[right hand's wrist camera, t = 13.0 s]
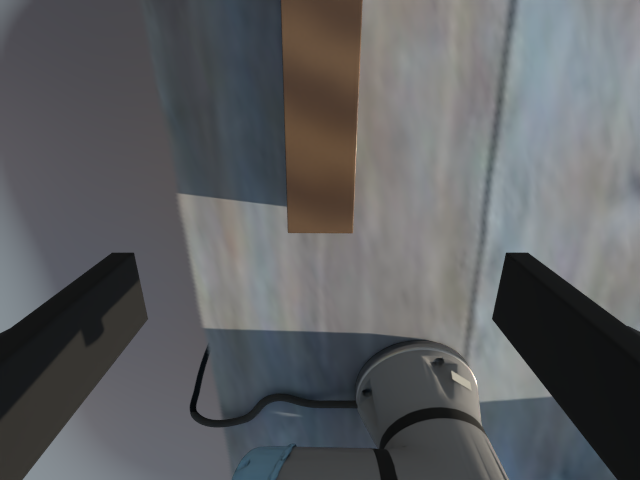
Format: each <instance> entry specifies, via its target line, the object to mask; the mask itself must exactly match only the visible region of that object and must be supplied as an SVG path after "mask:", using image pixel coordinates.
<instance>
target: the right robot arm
mask: <svg viewBox="0 0 640 480" xmlns="http://www.w3.org/2000/svg"><path fill="white" fill-rule="evenodd" d="M147 319H148V317H147V312H146V308H145V303H144V298H143V293H142V289H141V284H140V279H139V275H138V270H137V265H136V261H135V256H134V253H111V254H110V255H108V256H107V257H106V258H105V259H103V260H102V261H100V262H99V263H98V264H96V265H95V266H94V267H92V268H91V269H90V270H88V271H87V272H86V273H84V274H83V275H82V276H80V277H79V278H78V279H76V280H75V281H73V282H72V283H71V284H69V285H68V286H67V287H65V288H64V289H63V290H61V291H60V292H59V293H57V294H56V295H55V296H53V297H52V298H51V299H49V300H48V301H47V302H45V303H44V304H42V305H41V306H40V307H39V308H37V309H36V310H34V311H33V312H32V313H30V314H29V315H28V316H26V317H25V318H24V319H22V320H21V321H20V322H18V323H17V324H16V325H14V326H13V327H12V328H10V329H8V330H6V331H4V332H2V333H0V480H23V478H24V477H25V476H26V474H27V473H28V472H29V471H30V469H31V468H32V467H33V466H34V464H35V463H36V462H37V460H38V459H39V458H40V457H41V455H42V454H43V453H44V451H45V450H46V449H47V448H48V446H49V445H50V444H51V442H52V441H53V440H54V439H55V437H56V436H57V435H58V433H59V432H60V431H61V430H62V428H63V427H64V426H65V425H66V423H67V422H68V421H69V419H70V418H71V417H72V416H73V414H74V413H75V412H76V410H77V409H78V408H79V407H80V405H81V404H82V403H83V401H84V400H85V399H86V398H87V396H88V395H89V394H90V392H91V391H92V390H93V389H94V387H95V386H96V385H97V384H98V382H99V381H100V380H101V378H102V377H103V376H104V375H105V373H106V372H107V371H108V369H109V368H110V367H111V366H112V364H113V363H114V362H115V360H116V359H117V358H118V357H119V355H120V354H121V353H122V351H123V350H124V349H125V348H126V346H127V345H128V344H129V343H130V341H131V340H132V339H133V337H134V336H135V335H136V334H137V332H138V331H139V330H140V328H141V327H142V326H143V325H144V323H145V322H146V321H147ZM492 319H493V321H494V322H495V323H496V325H497V326H498V327H499V328H500V330H501V331H502V332H503V334H504V335H505V336H506V337H507V339H508V340H509V341H510V343H511V344H512V345H513V346H514V348H515V349H516V350H517V352H518V353H519V354H520V355H521V357H522V358H523V359H524V360H525V362H526V363H527V364H528V366H529V367H530V368H531V369H532V371H533V372H534V373H535V375H536V376H537V377H538V378H539V380H540V381H541V382H542V384H543V385H544V386H545V387H546V389H547V390H548V391H549V393H550V394H551V395H552V396H553V398H554V399H555V400H556V401H557V403H558V404H559V405H560V407H561V408H562V409H563V410H564V412H565V413H566V414H567V416H568V417H569V418H570V419H571V421H572V422H573V423H574V425H575V426H576V427H577V428H578V430H579V431H580V432H581V434H582V435H583V436H584V437H585V439H586V440H587V441H588V442H589V444H590V445H591V446H592V448H593V449H594V450H595V451H596V453H597V454H598V455H599V457H600V458H601V459H602V460H603V462H604V463H605V464H606V466H607V467H608V468H609V469H610V471H611V472H612V473H613V475H614V476H615V477H616V478H617V480H640V332H639V331H637V330H635V329H633V328H631V327H629V326H626V325H624V324H623V323H622V322H620V321H619V320H618V319H616V318H615V317H614V316H612V315H611V314H610V313H608V312H607V311H606V310H604V309H603V308H602V307H600V306H599V305H598V304H596V303H595V302H593V301H592V300H591V299H589V298H588V297H587V296H585V295H584V294H583V293H581V292H580V291H579V290H577V289H576V288H575V287H573V286H572V285H571V284H569V283H568V282H567V281H565V280H564V279H562V278H561V277H560V276H558V275H557V274H556V273H554V272H553V271H552V270H550V269H549V268H548V267H546V266H545V265H544V264H542V263H541V262H540V261H538V260H537V259H536V258H534V257H533V256H532V255H530V254H529V253H506V256H505V260H504V265H503V270H502V275H501V279H500V284H499V289H498V293H497V298H496V303H495V308H494V312H493V317H492ZM208 358H209V347H208V345H207V348H206V350H205V353H204V356H203V358H202V361H201V364H200V368H199V371H198V375H197V379H196V383H195V387H194V392H193V395H192V398H191V402H190V414H191V416H192V418H193V419H194V420H195V421H196V422H198V423H200V424H202V425H205V426H209V427H228V426H234V425H238V424H242V423H245V422H248V421H250V420H252V419H253V418H254V417H255V416H256V415H257V414H258V413H259V412H260V411H261V409H262V408H263V407H264V406H265V405H267V404H269V403H271V402H274V401H286V402H290V403H294V404H297V405H301V406H305V407H312V408H357V409H358V412H359V415H360V417H361V419H362V421H363V422H364V424H365V426H366V428H367V430H368V432H369V433H370V435H371V437H372V439H373V441H374V443H375V444H376V446H377V448H378V449H371V448H328V447H296V444H290V445H289V446H274V447H258V448H255V449H253V450H251V451H250V452H248V453H247V454H246V455H245V456H244V458H243V459H242V460H241V462H240V463H239V465H238V467H237V469H236V471H235V473H234V476H233V478H232V480H509V479H508V477H507V475H506V473H505V471H504V469H503V467H502V465H501V463H500V461H499V459H498V457H497V455H496V453H495V451H494V449H493V447H492V445H491V443H490V441H489V439H488V437H487V435H486V433H485V431H484V429H483V427H482V422H481V413H480V405H479V396H478V388H477V382H476V379H475V377H474V375H473V373H472V371H471V369H470V367H469V366H468V364H467V362H466V361H465V360H464V358H463V357H462V356H461V355H460V354H459V353H457V352H456V351H455V350H453V349H451V348H450V347H447V346H445V345H443V344H440V343H436V342H431V341H408V342H402V343H398V344H395V345H392V346H390V347H387V348H385V349H383V350H382V351H380V352H378V353H377V354H376V355H374V356H373V357H372V358H371V359H370V360H369V361H368V362H367V363H366V364H365V365H364V366H363V368H362V369H361V371H360V373H359V375H358V377H357V380H356V385H355V395H356V401H314V400H306V399H302V398H299V397H295V396H292V395H287V394H273V395H270V396H267V397H265V398H263V399H262V400H261V401H259V403H258V404H257V405H256V406H255V407H254V408H253V410H252V411H251V412H250V413H248V414H247V415H244V416H242V417H238V418H233V419H227V420H211V419H207V418H205V417H203V416H201V415H200V414H199V413H198V412H197V410H196V405H197V400H198V397H199V393H200V388H201V384H202V379H203V375H204V371H205V367H206V364H207V361H208Z"/></svg>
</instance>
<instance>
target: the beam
mask: <svg viewBox="0 0 640 480" xmlns="http://www.w3.org/2000/svg"><path fill="white" fill-rule="evenodd" d="M281 24H282V56H283V89H284V121H285V153H286V185H287V218H288V233H353V218H354V193H355V169H356V145H357V121H358V96H359V72H360V48H361V24H362V0H281Z"/></svg>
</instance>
